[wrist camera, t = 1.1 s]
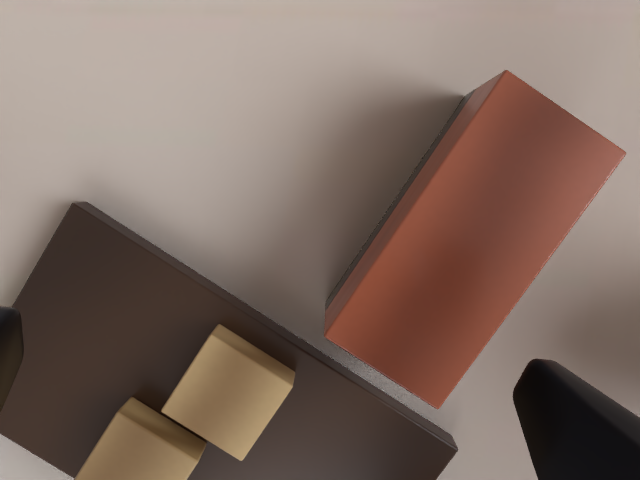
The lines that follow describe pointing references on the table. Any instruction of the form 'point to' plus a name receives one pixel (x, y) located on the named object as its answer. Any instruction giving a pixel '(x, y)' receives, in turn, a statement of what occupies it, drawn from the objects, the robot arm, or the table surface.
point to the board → (186, 367)
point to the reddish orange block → (467, 236)
